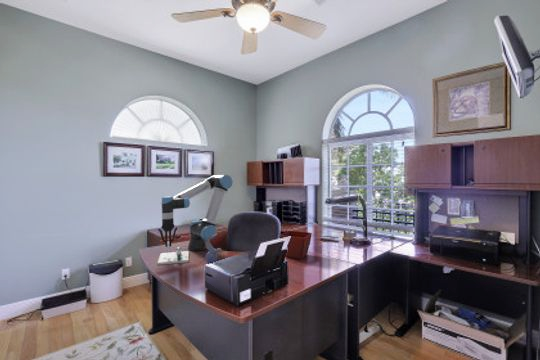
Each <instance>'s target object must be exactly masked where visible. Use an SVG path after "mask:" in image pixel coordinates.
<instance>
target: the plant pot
mask: <svg viewBox="0 0 540 360" xmlns="http://www.w3.org/2000/svg"><path fill="white" fill-rule="evenodd" d="M312 235H313V234H312V232H308V231H307V232H306V231H297V230H287V231H286V232H284V233H281V234H279V236H280V239H281V238H283V237H287V236H291V240H290V243H289V246H288V252H287V255H286V256H285V257H286V258H290V259H291V258H293V259H297V260H302V259H304V258H305V256H307V254H308V252H309V248H310V245H311V239H312Z"/></svg>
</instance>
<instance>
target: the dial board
mask: <svg viewBox="0 0 540 360" xmlns="http://www.w3.org/2000/svg"><path fill="white" fill-rule="evenodd" d="M189 251H190V250H187V251H186V250H185V251H182V250H181V260H177V254H176V251H172V252H171V251H170V252H161V253H160V255H159V257H158V261H157V264H156V265H158V266H160V265H170V264H171V265H172V264H182V263H189V254H190V253H189Z"/></svg>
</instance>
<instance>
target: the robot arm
mask: <svg viewBox="0 0 540 360" xmlns="http://www.w3.org/2000/svg"><path fill="white" fill-rule="evenodd" d="M233 183H234V182H233V178H232V177H231V176H230V175H229V174H226V173H223V174H222V173H221V174H217V173H215V174H214V175H211V176H209V177H208V178H206V179H204V180H203V182H202V181H201V182H200V183H198V184H196V185H194V186H192V187H189V188H188V189H186V190H184V191H182V192H180V193H178V194H176V195H175V196H170V195H168V196H162V197H161V203H160V204H161V218H162V220H161V223H162V224H161V226H160V228H158V232H159V233H160V238H161V240H162V243H165V247H166V249H167V252H166V253H170V252H171V247H172V242H174V241H175V237H176V233H177V230H178V226H175V224H174V223H175V222H174V219H175V218H174V210H177V209H179V210H180V209H187V208H189V207H190V206H191V203H190V201H191V199H192V198H195V197H197V196H199V195H201V194H203V193H204V192H206V191H208V190H209V191H211V190H213V193H212V196H211V199H210V201H209V205H208V207H207V211H206V214H205V217H204V218H203V219H202V220H201V219H200V220H193V221H190V224H189V232H190V233H189V242H188V245H187V251H192V252H197V251H198V252H201V251H204V250H206V249H207V247H206V242H207V240H208V239H209V237H211V236H213V235H215V234H217V228H216V226H217V224H216V220H217V218H218V214H219V211H220V208H221V205H222V202H223V199H224V197H225V194H226V193H228V190H229V189H230V188H232V186H233ZM163 231H164V233H163ZM172 231H173V235H172ZM215 236H216V235H215ZM213 238H214V237H212V238H211V239H210V240H212V239H213ZM168 239H169V240H168Z"/></svg>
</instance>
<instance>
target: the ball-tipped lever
mask: <svg viewBox="0 0 540 360" xmlns="http://www.w3.org/2000/svg"><path fill="white" fill-rule="evenodd" d="M175 249H176V251H175V252H176V254H177V260H181V252H182V246H177V247H175Z"/></svg>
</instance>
